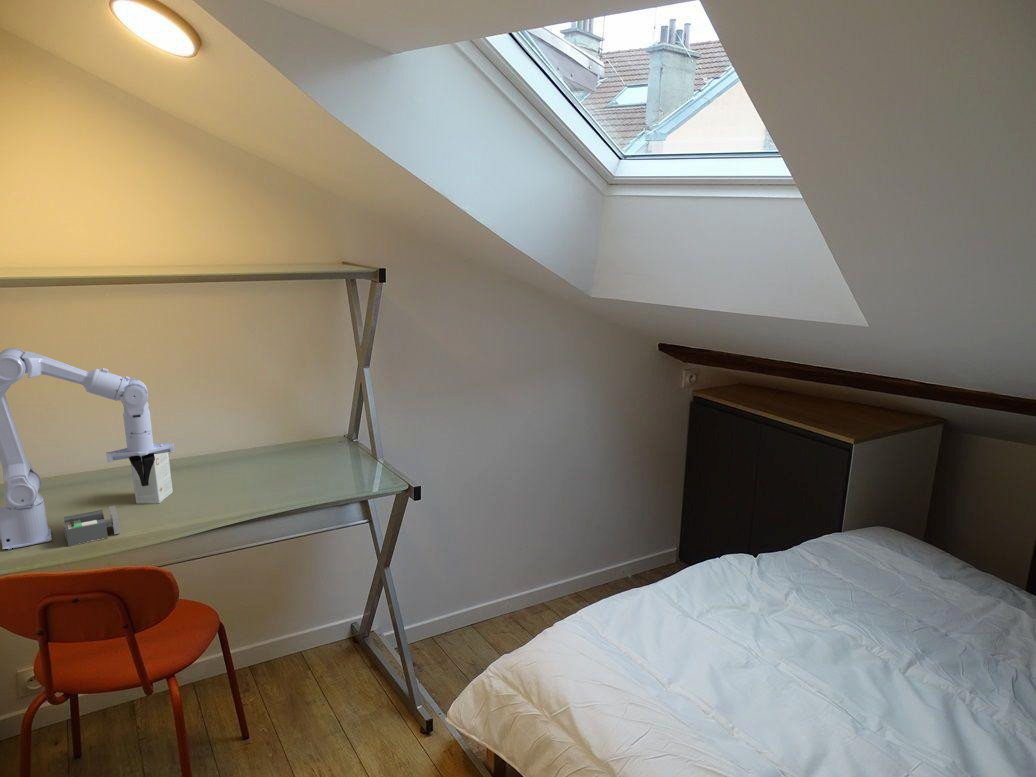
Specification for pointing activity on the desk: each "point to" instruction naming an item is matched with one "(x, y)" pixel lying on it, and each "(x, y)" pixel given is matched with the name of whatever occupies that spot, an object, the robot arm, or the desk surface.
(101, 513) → the gauge housing
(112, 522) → the plunger
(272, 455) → the desk surface
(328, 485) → the desk surface
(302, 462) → the desk surface
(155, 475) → the small box
